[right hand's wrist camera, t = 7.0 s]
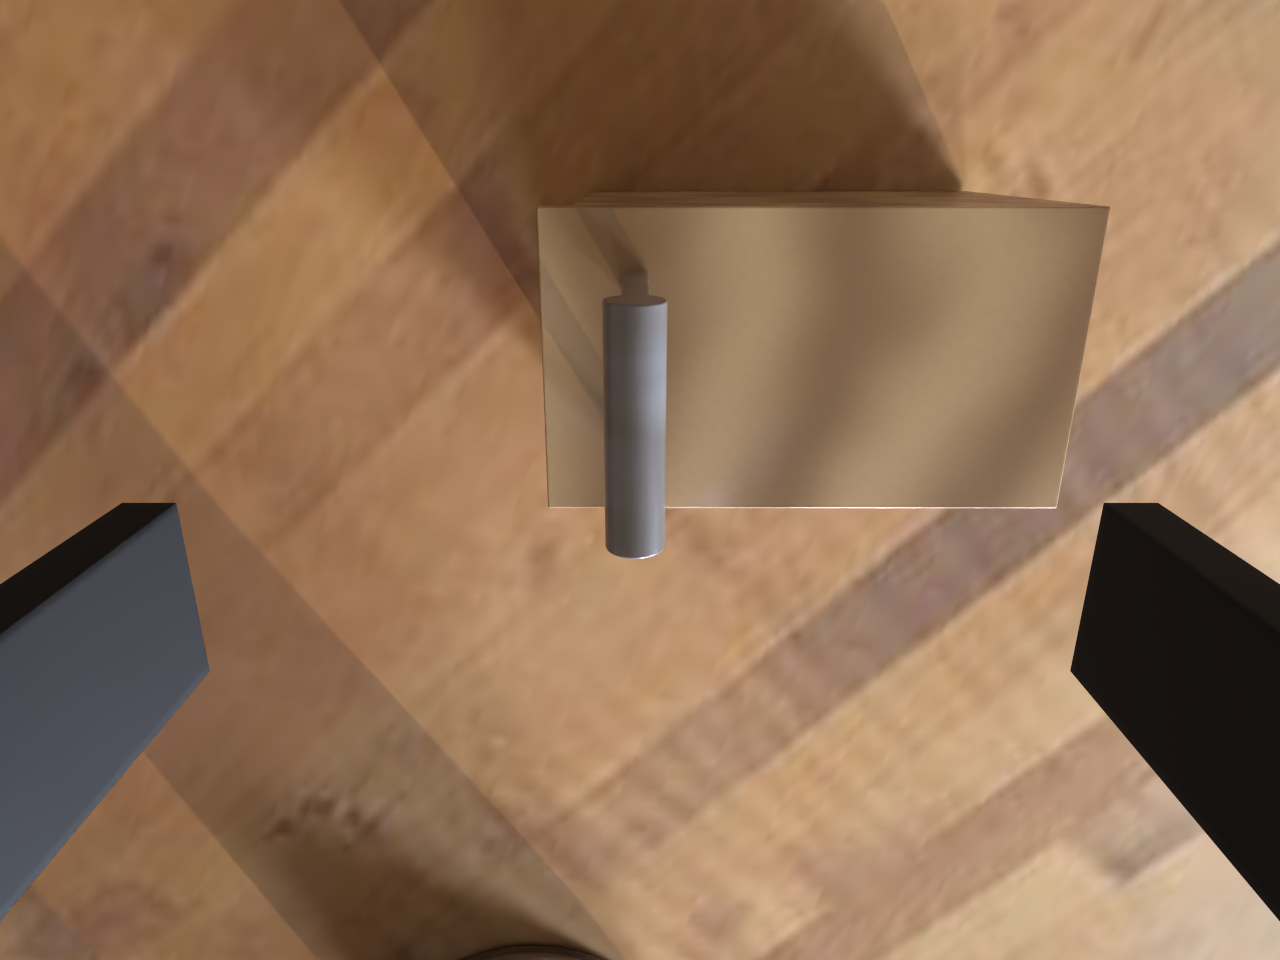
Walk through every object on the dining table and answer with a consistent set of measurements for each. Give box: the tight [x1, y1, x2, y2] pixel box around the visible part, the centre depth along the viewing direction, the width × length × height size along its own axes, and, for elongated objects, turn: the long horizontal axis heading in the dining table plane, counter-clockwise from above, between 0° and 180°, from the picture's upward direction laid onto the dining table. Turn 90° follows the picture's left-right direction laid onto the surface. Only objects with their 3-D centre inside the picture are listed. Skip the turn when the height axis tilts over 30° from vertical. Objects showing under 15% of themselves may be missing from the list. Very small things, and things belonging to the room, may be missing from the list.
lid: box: [536, 205, 1110, 559], centre depth 23 cm, size 16×9×8 cm, turn 90°
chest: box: [574, 191, 1089, 205], centre depth 32 cm, size 15×9×10 cm, turn 90°
